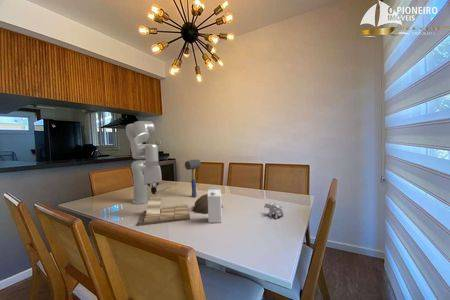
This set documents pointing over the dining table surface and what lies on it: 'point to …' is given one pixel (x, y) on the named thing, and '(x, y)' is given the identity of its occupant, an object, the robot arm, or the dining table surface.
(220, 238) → the dining table surface
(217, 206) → the milk carton
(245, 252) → the dining table surface
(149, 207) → the loose plank
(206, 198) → the decorative dome
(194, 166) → the rubber mallet
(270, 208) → the elephant statuette
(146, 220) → the floor board
